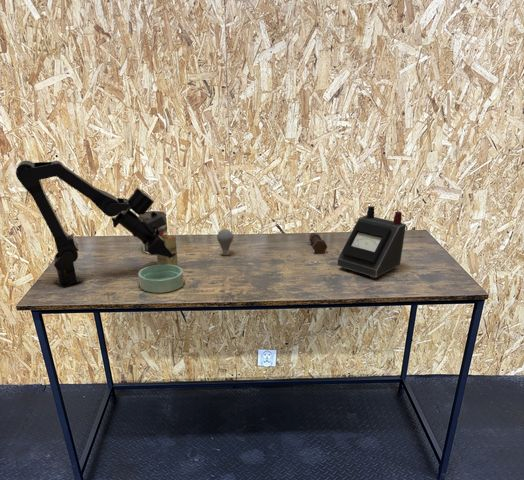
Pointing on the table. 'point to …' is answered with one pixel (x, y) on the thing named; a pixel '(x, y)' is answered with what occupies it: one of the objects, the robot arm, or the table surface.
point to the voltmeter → (373, 245)
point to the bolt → (317, 243)
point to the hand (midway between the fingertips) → (170, 253)
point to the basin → (161, 278)
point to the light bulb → (225, 240)
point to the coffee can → (161, 230)
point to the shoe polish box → (171, 246)
